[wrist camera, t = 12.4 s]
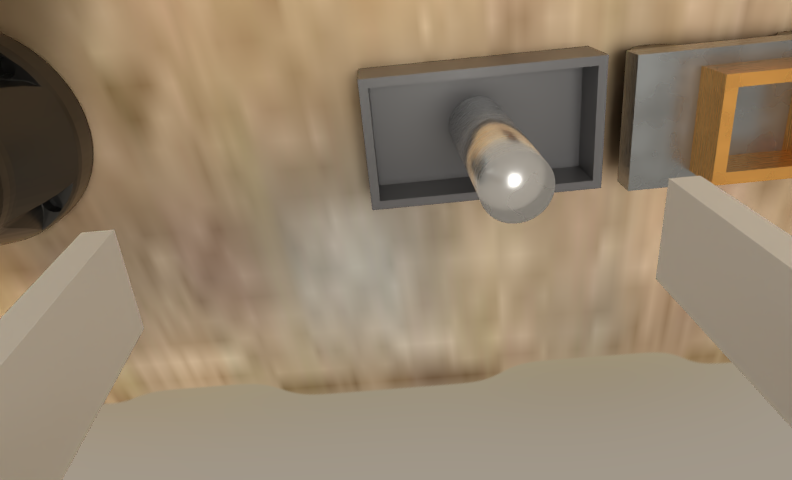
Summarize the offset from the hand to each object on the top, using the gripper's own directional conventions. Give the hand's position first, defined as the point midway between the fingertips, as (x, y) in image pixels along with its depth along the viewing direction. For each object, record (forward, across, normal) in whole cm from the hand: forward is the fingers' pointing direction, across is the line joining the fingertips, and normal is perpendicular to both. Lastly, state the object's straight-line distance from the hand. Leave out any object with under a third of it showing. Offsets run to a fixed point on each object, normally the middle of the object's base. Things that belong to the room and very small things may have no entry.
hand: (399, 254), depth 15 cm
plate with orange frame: (+30, +24, -5) cm, 39 cm away
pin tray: (+30, +7, -5) cm, 31 cm away
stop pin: (+29, +7, -5) cm, 31 cm away
